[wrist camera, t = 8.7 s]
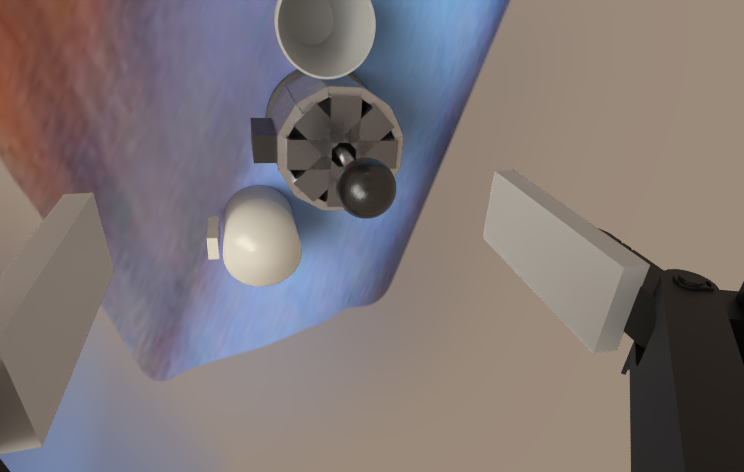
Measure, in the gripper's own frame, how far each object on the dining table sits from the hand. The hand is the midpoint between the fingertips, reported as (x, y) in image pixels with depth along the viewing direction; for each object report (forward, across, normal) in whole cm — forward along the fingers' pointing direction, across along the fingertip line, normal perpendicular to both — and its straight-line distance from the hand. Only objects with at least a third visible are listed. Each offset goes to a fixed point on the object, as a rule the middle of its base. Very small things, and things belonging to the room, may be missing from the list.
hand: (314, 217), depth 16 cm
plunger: (+34, +6, -6) cm, 35 cm away
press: (+36, +6, -7) cm, 37 cm away
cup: (+36, +5, +4) cm, 37 cm away
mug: (+36, -2, -17) cm, 40 cm away
